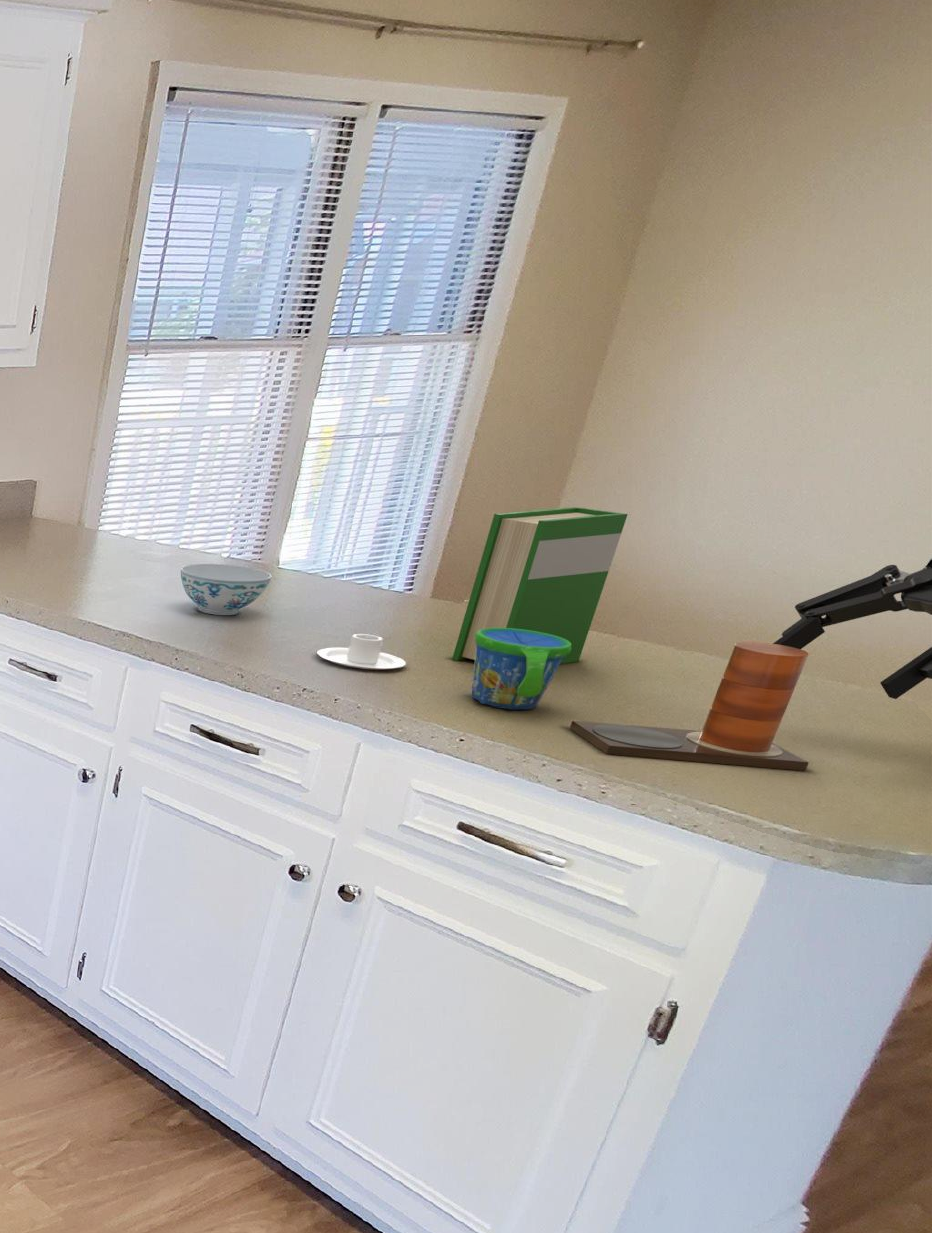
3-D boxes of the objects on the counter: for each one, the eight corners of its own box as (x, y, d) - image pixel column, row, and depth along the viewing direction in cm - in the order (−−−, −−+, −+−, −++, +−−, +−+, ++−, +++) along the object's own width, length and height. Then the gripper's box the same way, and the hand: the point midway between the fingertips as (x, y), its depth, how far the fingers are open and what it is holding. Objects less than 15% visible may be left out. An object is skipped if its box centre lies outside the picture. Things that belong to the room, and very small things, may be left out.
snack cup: (561, 725, 155) (585, 655, 152) (466, 713, 160) (487, 645, 157) (537, 693, 168) (558, 628, 164) (450, 683, 173) (468, 620, 169)
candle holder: (316, 665, 183) (322, 640, 181) (316, 648, 192) (322, 623, 190) (406, 677, 176) (414, 650, 175) (402, 658, 186) (409, 633, 184)
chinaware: (246, 603, 221) (255, 564, 218) (275, 622, 208) (284, 581, 205) (164, 600, 224) (171, 562, 222) (186, 619, 211) (194, 579, 208)
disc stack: (781, 754, 141) (822, 657, 136) (717, 749, 143) (755, 653, 138) (749, 737, 146) (787, 643, 142) (688, 732, 148) (723, 640, 144)
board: (805, 771, 139) (809, 761, 139) (606, 754, 145) (609, 744, 145) (754, 743, 148) (758, 734, 147) (569, 728, 154) (572, 719, 154)
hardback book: (499, 671, 178) (545, 521, 169) (452, 659, 185) (494, 513, 176) (578, 661, 182) (627, 514, 174) (529, 649, 189) (574, 506, 180)
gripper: (1146, 599, 125) (956, 727, 131) (890, 554, 149) (738, 664, 154) (1123, 553, 123) (931, 685, 129) (868, 515, 147) (714, 628, 152)
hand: (825, 674), depth 141 cm, fingers open, 13 cm apart
